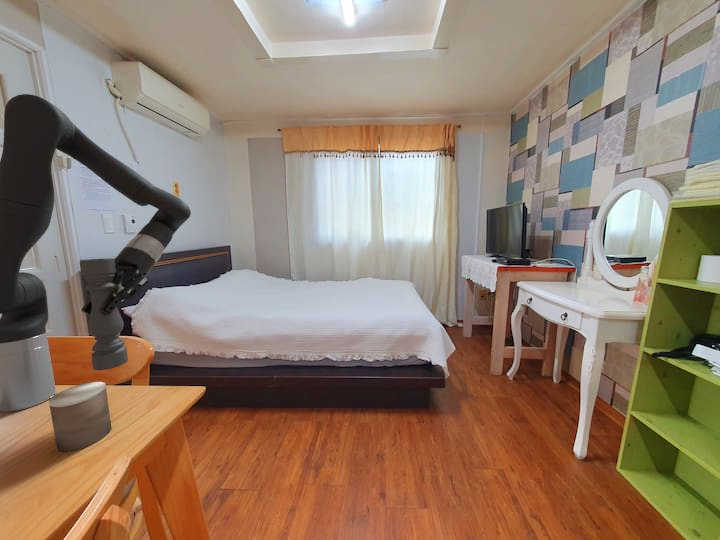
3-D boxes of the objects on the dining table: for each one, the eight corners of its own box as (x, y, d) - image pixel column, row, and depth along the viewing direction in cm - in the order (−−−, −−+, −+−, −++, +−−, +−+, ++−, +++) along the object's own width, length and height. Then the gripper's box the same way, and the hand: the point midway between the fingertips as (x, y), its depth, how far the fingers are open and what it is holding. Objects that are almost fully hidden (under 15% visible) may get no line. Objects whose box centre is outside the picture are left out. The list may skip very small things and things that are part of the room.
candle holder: (134, 359, 66) (122, 258, 63) (105, 371, 60) (90, 260, 57) (116, 357, 68) (104, 258, 65) (86, 368, 62) (70, 260, 59)
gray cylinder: (62, 435, 57) (54, 391, 56) (113, 419, 62) (107, 377, 61) (52, 459, 51) (43, 409, 49) (109, 438, 56) (103, 393, 54)
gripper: (105, 246, 69) (52, 303, 59) (153, 245, 67) (107, 305, 56) (128, 264, 75) (83, 319, 64) (173, 264, 73) (134, 322, 62)
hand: (95, 312), depth 60 cm, fingers closed on candle holder, 4 cm apart
